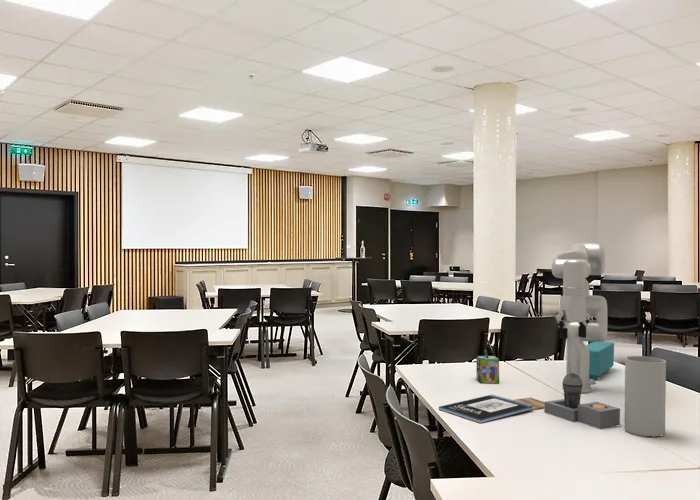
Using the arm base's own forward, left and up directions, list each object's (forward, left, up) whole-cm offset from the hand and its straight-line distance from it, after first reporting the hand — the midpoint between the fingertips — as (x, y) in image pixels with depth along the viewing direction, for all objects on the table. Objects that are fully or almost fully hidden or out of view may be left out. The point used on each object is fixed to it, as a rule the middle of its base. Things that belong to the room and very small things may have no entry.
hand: (573, 337), depth 221 cm
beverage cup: (0, 0, -29) cm, 29 cm away
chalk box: (-8, -58, -29) cm, 66 cm away
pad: (+4, -18, -29) cm, 35 cm away
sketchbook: (+26, -18, -29) cm, 43 cm away
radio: (-69, -48, -30) cm, 89 cm away
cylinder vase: (-6, +26, -29) cm, 40 cm away
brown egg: (0, +12, -27) cm, 29 cm away
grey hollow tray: (0, +5, -29) cm, 30 cm away
